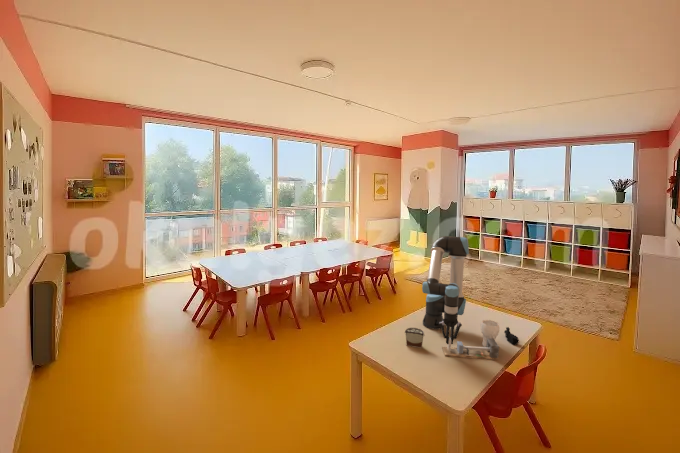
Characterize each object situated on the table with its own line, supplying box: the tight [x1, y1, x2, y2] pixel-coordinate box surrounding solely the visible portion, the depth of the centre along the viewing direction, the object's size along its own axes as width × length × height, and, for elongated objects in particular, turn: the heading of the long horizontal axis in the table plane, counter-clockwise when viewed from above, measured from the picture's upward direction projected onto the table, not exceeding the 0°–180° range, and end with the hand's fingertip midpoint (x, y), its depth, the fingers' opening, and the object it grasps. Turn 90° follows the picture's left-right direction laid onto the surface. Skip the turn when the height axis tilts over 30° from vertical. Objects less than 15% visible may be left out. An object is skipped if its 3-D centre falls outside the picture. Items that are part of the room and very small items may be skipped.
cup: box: [480, 319, 500, 347], centre depth 201 cm, size 11×11×15 cm
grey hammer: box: [456, 340, 490, 355], centre depth 191 cm, size 19×7×5 cm, turn 82°
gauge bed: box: [441, 339, 500, 360], centre depth 192 cm, size 30×9×8 cm, turn 82°
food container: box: [404, 327, 426, 349], centre depth 204 cm, size 12×6×10 cm, turn 71°
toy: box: [503, 326, 520, 346], centre depth 209 cm, size 15×5×7 cm, turn 176°
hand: (449, 348), depth 194 cm, fingers closed
